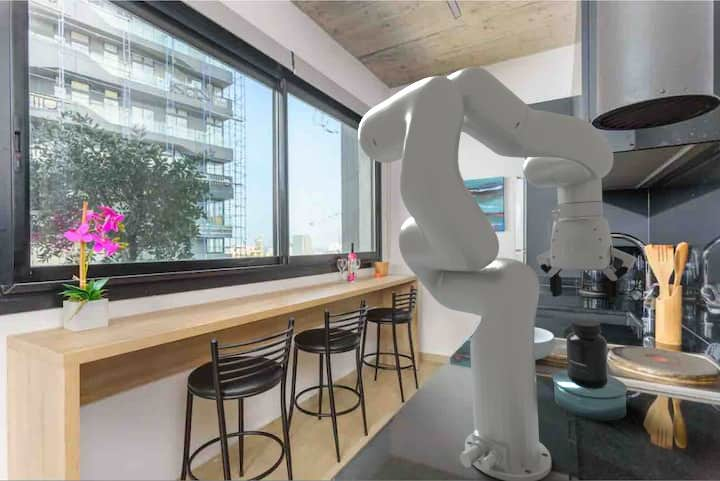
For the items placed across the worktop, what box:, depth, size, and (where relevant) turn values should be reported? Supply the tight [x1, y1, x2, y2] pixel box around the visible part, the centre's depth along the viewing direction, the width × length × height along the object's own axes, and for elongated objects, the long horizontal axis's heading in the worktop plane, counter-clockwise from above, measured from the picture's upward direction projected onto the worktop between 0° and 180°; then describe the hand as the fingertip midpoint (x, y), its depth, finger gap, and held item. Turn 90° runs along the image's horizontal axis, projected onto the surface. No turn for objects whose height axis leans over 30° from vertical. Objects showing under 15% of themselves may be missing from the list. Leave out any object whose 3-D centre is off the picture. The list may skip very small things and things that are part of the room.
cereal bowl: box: [534, 326, 555, 362], centre depth 98 cm, size 17×17×7 cm
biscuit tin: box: [552, 369, 628, 421], centre depth 70 cm, size 12×12×5 cm
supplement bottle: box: [566, 318, 609, 388], centre depth 69 cm, size 7×7×12 cm
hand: (583, 298), depth 70 cm, fingers open, 9 cm apart
